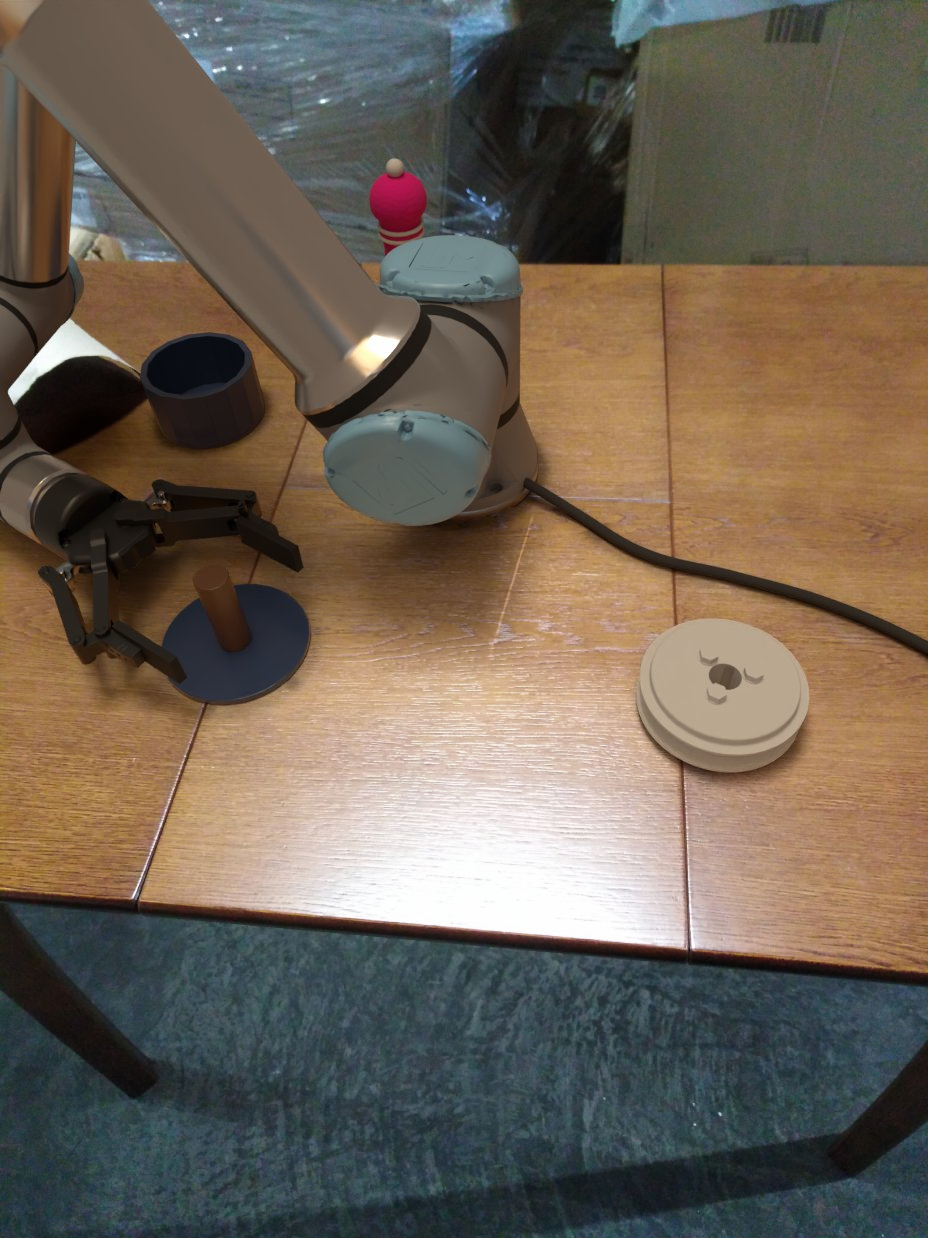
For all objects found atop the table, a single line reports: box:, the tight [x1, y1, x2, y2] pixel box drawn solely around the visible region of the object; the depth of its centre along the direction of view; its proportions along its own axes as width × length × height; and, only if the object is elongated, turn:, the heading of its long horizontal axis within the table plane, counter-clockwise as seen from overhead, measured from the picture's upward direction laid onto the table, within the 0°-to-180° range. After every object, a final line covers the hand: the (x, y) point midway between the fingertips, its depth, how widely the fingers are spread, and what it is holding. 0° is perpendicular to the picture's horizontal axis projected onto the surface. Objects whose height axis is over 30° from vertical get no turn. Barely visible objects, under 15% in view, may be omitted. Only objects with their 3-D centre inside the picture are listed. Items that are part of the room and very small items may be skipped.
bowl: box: [139, 331, 266, 450], centre depth 95 cm, size 11×11×6 cm
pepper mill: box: [368, 158, 428, 283], centre depth 98 cm, size 7×7×20 cm
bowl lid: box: [161, 563, 311, 706], centre depth 73 cm, size 13×13×9 cm
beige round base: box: [635, 617, 810, 773], centre depth 69 cm, size 13×13×5 cm
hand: (241, 612), depth 71 cm, fingers open, 13 cm apart
